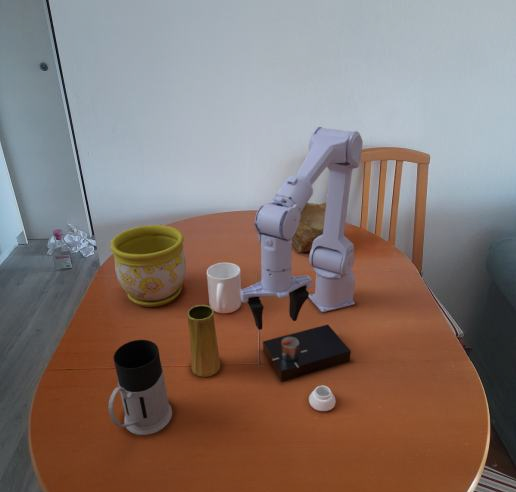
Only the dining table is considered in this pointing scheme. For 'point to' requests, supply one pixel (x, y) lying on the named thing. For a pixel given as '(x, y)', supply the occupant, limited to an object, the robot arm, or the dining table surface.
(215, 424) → the dining table surface
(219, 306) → the mug
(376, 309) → the dining table surface
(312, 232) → the rough brown rock
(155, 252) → the flowerpot
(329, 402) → the white jar
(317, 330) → the hob
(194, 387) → the dining table surface
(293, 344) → the hob knob
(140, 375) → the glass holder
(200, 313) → the vase
